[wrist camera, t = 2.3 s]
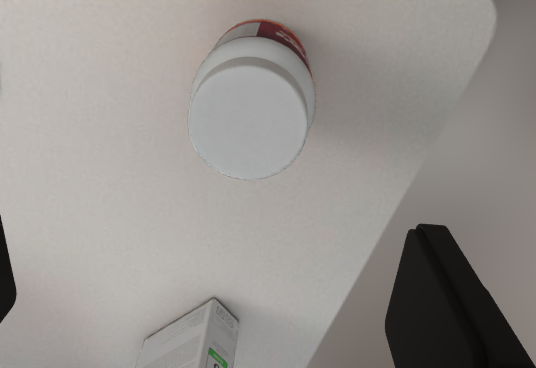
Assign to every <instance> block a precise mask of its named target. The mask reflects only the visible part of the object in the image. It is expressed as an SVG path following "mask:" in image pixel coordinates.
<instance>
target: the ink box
mask: <svg viewBox="0 0 536 368" xmlns="http://www.w3.org/2000/svg"><path fill="white" fill-rule="evenodd" d="M238 325H239V322H238V321H237V320H236V319H235V318H234V317H233V316H232V315H231V314H230V313H229V312H228V311H227V310H226V309H225V308H224V307H223V306H222V305H221V304H220V303H219V302H218V301H217V300H216V299H215V298H214V299H212V300H210V301H208V302H206V303H204V304H203V305H201V306H199V307H197V308H196V309H194V310H192V311H191V312H189V313H188V314H186V315H184V316H183V317H181V318H179V319H178V320H176V321H174V322H173V323H171V324H169V325H168V326H166V327H164V328H163V329H161V330H160V331H158V332H156V333H155V334H153V335H152V336H150V337H148V338H147V339H145V341H144V344H143V347H142V350H141V352H140V355H139V357H138V360H137V363H136V366H135V368H233V364H234V356H235V348H236V341H237V334H238Z"/></svg>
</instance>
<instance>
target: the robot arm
mask: <svg viewBox="0 0 536 368" xmlns="http://www.w3.org/2000/svg"><path fill="white" fill-rule="evenodd" d="M15 300H16V286H15V282H14V277H13V272H12V268H11V263H10V258H9V253H8V249H7V244H6V239H5V235H4V230H3V225H2V221H1V216H0V323H1V322H2V320H3V319H4V318H5V316H6V315H7V314H8V312H9V311H10V310H11V308H12V307H13V305H14V303H15ZM385 333H386V337H387V340H388V343H389V347H390V351H391V354H392V358H393V361H394V365H395V368H536V367H535V365H534V364H533V362H532V360H531V359H530V357H529V356H528V354H527V352H526V351H525V349H524V348H523V346H522V344H521V343H520V341H519V340H518V338H517V336H516V335H515V333H514V332H513V330H512V329H511V327H510V325H509V324H508V322H507V320H506V319H505V317H504V316H503V314H502V313H501V311H500V309H499V308H498V306H497V304H496V303H495V301H494V300H493V298H492V297H491V295H490V293H489V292H488V291H487V289H486V288H485V287H484V286H483V285H482V283H481V282H480V280H479V278H478V277H477V275H476V273H475V272H474V270H473V269H472V267H471V265H470V264H469V262H468V260H467V259H466V257H465V256H464V254H463V252H462V251H461V250H460V248H459V246H458V244H457V243H456V241H455V240H454V238H453V236H452V235H451V233H450V231H449V230H448V228H447V227H446V226H444V225H432V224H419V225H418V226H417V227H416V229H410V230H409V231H408V233H407V237H406V240H405V244H404V248H403V252H402V256H401V260H400V264H399V268H398V272H397V275H396V279H395V283H394V287H393V291H392V295H391V299H390V303H389V307H388V310H387V314H386V319H385Z"/></svg>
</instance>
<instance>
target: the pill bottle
mask: <svg viewBox="0 0 536 368" xmlns="http://www.w3.org/2000/svg"><path fill="white" fill-rule="evenodd" d="M190 102H191V103H190V107H189V111H188V131H189V135H190V138H191V141H192V144H193V146H194V148H195V149H196V151H197V153H198V154H199V156H200V157H201V158H202V159H203V160H204V161H205V162H206V163H207V164H208V165H209V166H210V167H212V168H213V169H214V170H216V171H218V172H219V173H222V174H224V175H226V176H229V177H232V178H236V179H242V180H258V179H263V178H267V177H270V176H273V175H275V174H277V173H279V172H281V171H282V170H284V169H285V168H286V167H288V166H289V165H290V164H291V163H292V162H293V161H294V160H295V159H296V157H297V156H298V155H299V153H300V152H301V150H302V148H303V146H304V143H305V140H306V137H307V132H308V130H309V128H310V126H311V124H312V121H313V118H314V114H315V108H316V95H315V87H314V82H313V78H312V74H311V70H310V66H309V62H308V58H307V55H306V52H305V50H304V48H303V46H302V44H301V42H300V41H299V39H298V38H297V37H296V36H295V34H294V33H293V32H292V31H290V30H289V29H288V28H286V27H285V26H283V25H281V24H279V23H277V22H274V21H270V20H264V19H254V20H248V21H245V22H242V23H239V24H237V25H236V26H234V27H232V28H231V29H230V30H228V31H227V32H226V33H225V34H224V35H223V36H222V37H221V38H220V40H219V41H218V42H217V44H216V45H215V47H214V48H213V49H212V51H211V52H210V53H209V55H208V56H207V57H206V59H205V60H204V61H203V62H202V64H201V66H200V67H199V69H198V71H197V73H196V75H195V78H194V80H193V83H192V88H191V96H190Z"/></svg>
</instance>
